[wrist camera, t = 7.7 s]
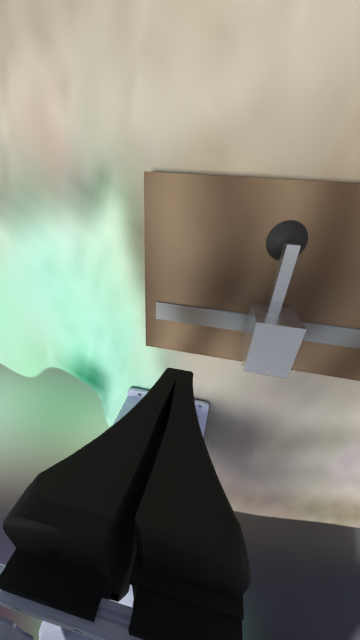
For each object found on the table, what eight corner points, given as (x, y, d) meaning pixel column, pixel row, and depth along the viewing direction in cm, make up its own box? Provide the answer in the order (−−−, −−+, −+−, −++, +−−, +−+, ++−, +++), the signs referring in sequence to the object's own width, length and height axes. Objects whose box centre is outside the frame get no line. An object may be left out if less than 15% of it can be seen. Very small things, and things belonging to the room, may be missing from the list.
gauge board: (149, 339, 22) (128, 376, 17) (149, 173, 16) (114, 158, 11) (415, 381, 19) (481, 442, 14) (558, 197, 12) (774, 191, 7)
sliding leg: (240, 346, 18) (243, 371, 16) (266, 240, 14) (275, 248, 12) (277, 351, 18) (287, 378, 15) (314, 245, 14) (335, 254, 11)
